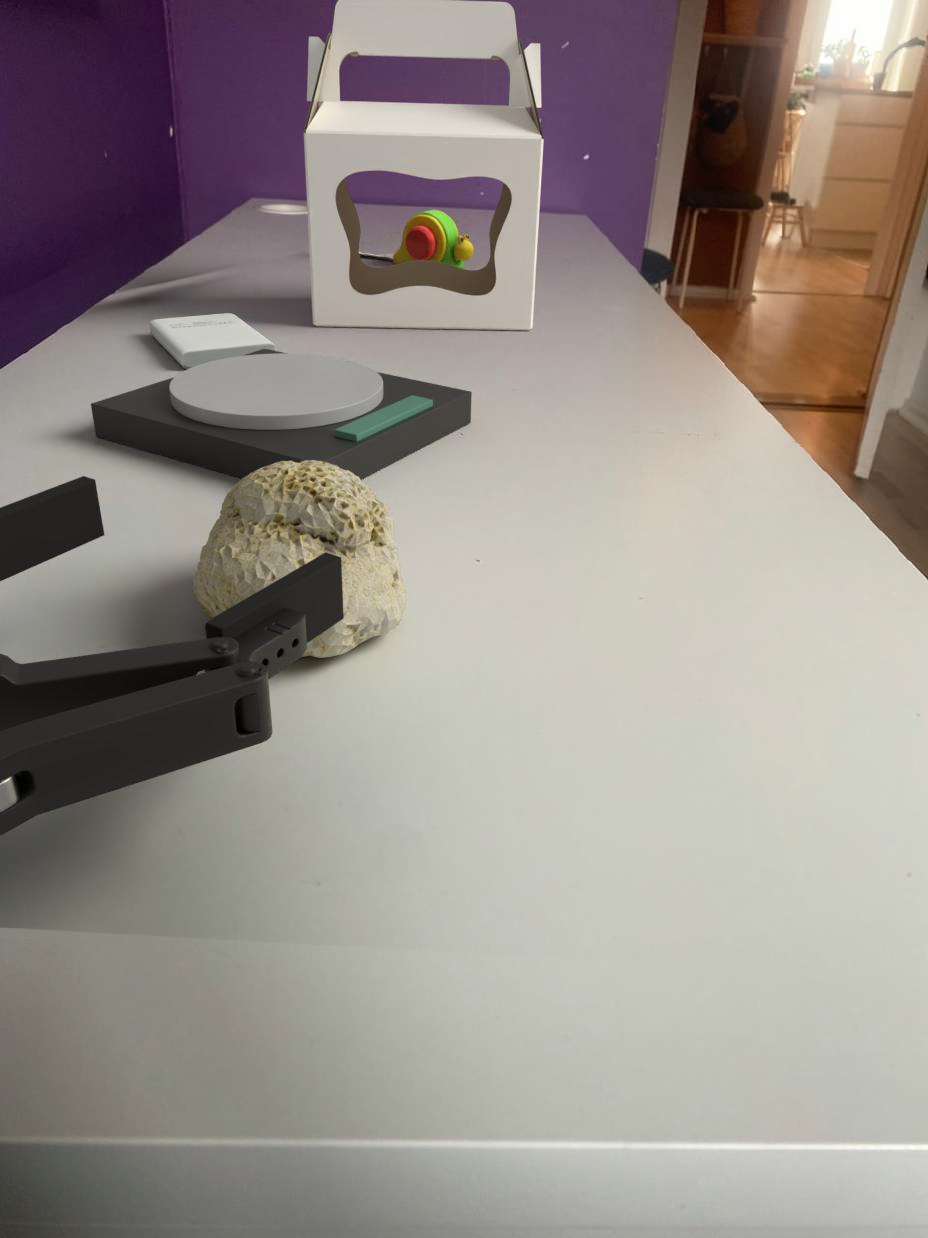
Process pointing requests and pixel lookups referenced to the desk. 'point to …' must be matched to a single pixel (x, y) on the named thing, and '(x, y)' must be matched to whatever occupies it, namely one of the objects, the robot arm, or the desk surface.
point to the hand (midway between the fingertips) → (206, 542)
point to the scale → (283, 414)
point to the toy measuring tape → (431, 241)
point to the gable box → (423, 167)
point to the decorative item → (306, 547)
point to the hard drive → (207, 338)
